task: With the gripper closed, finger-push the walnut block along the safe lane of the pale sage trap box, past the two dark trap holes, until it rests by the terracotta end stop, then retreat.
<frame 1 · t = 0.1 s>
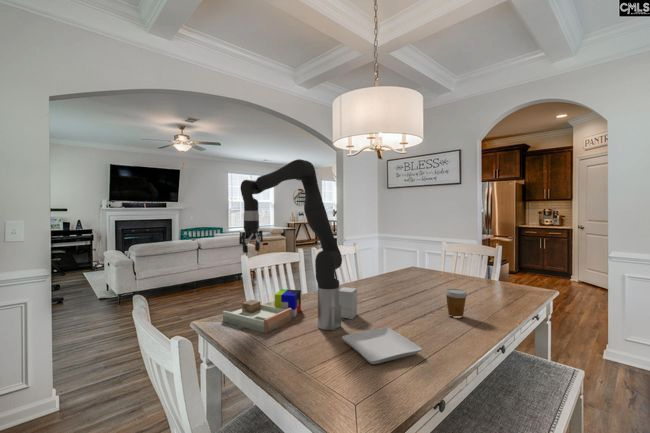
hand: (251, 251, 154), 29 cm above the table, fingers open, 8 cm apart
supplement box: (347, 316, 145), on the table
puzzle toy: (288, 313, 150), on the table
salad plate: (380, 351, 110), on the table
trap box: (257, 320, 139), on the table
walnut block: (251, 310, 145), point 2 cm above the table, touching trap box
disposable coffee cup: (455, 316, 144), on the table
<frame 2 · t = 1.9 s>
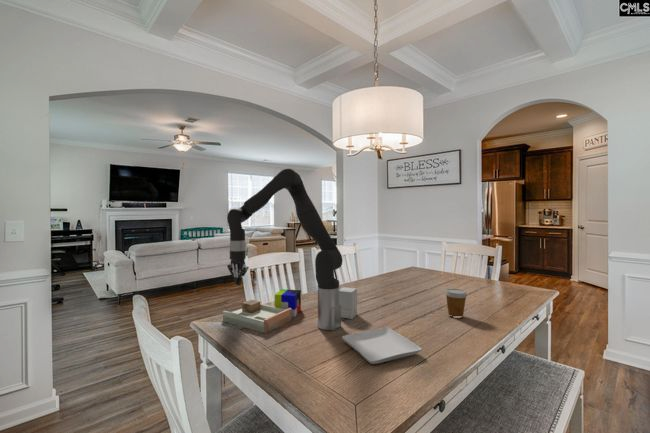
hand: (237, 284, 150), 14 cm above the table, fingers closed
nothing on the table moved.
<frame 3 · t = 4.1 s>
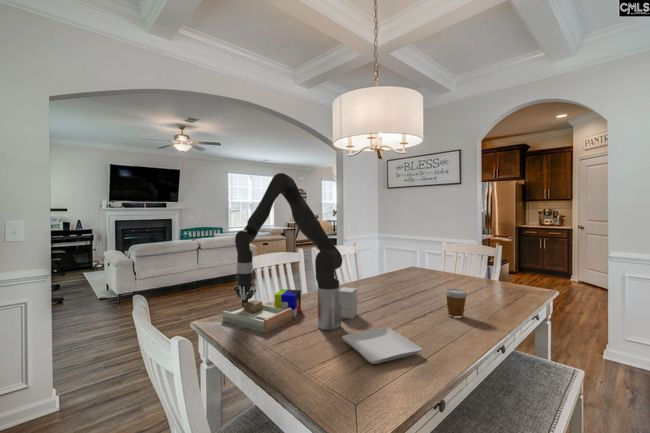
hand: (244, 307, 147), 3 cm above the table, fingers closed
walnut block: (253, 310, 144), point 3 cm above the table, touching gripper
everything else where it was.
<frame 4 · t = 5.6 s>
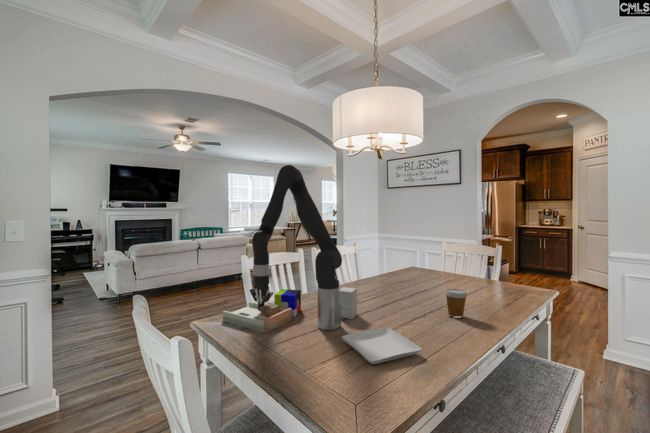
hand: (261, 310, 142), 4 cm above the table, fingers closed
walnut block: (270, 314, 139), point 3 cm above the table, touching gripper
everything else where it was.
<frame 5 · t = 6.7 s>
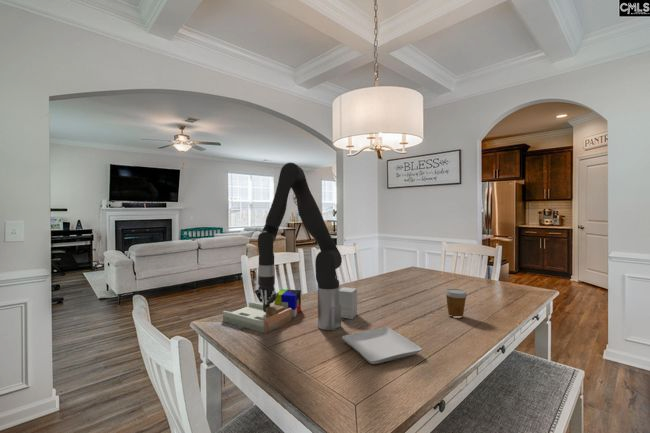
hand: (266, 311, 140), 4 cm above the table, fingers closed
walnut block: (275, 316, 137), point 2 cm above the table, touching gripper, trap box
everything else where it was.
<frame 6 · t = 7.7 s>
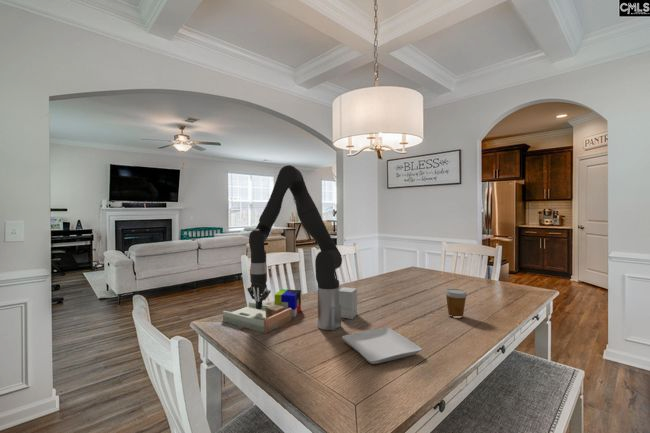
hand: (259, 308, 142), 4 cm above the table, fingers closed
walnut block: (275, 316, 137), point 2 cm above the table, touching trap box
everything else where it was.
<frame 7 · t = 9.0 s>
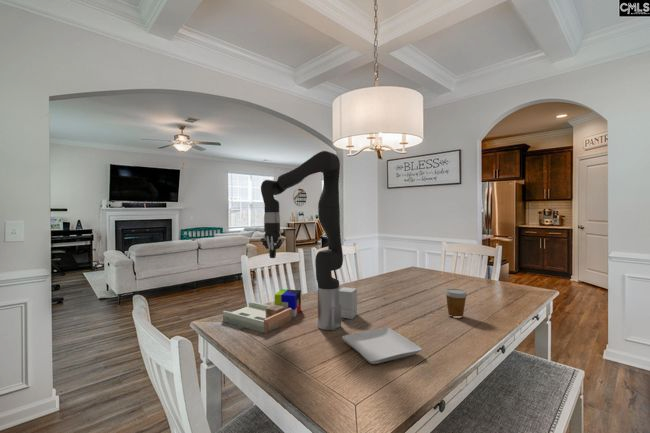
hand: (272, 257, 147), 27 cm above the table, fingers closed
nothing on the table moved.
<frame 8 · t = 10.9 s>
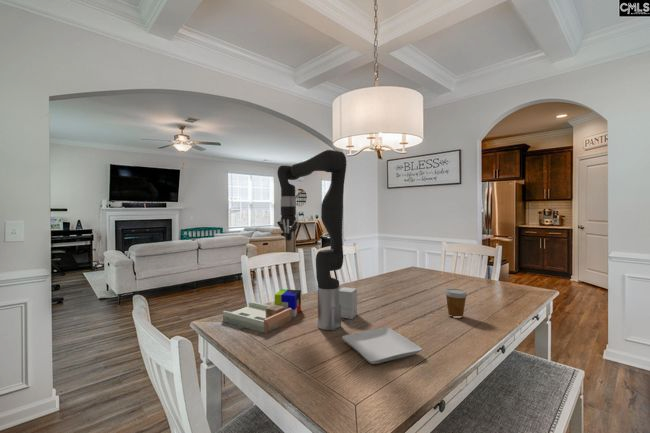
hand: (288, 240, 152), 35 cm above the table, fingers closed
nothing on the table moved.
at the end: walnut block inside the target area on the trap box (0.4 cm from its centre), point 2.5 cm above the trap box's base; walnut block tilted 0° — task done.
